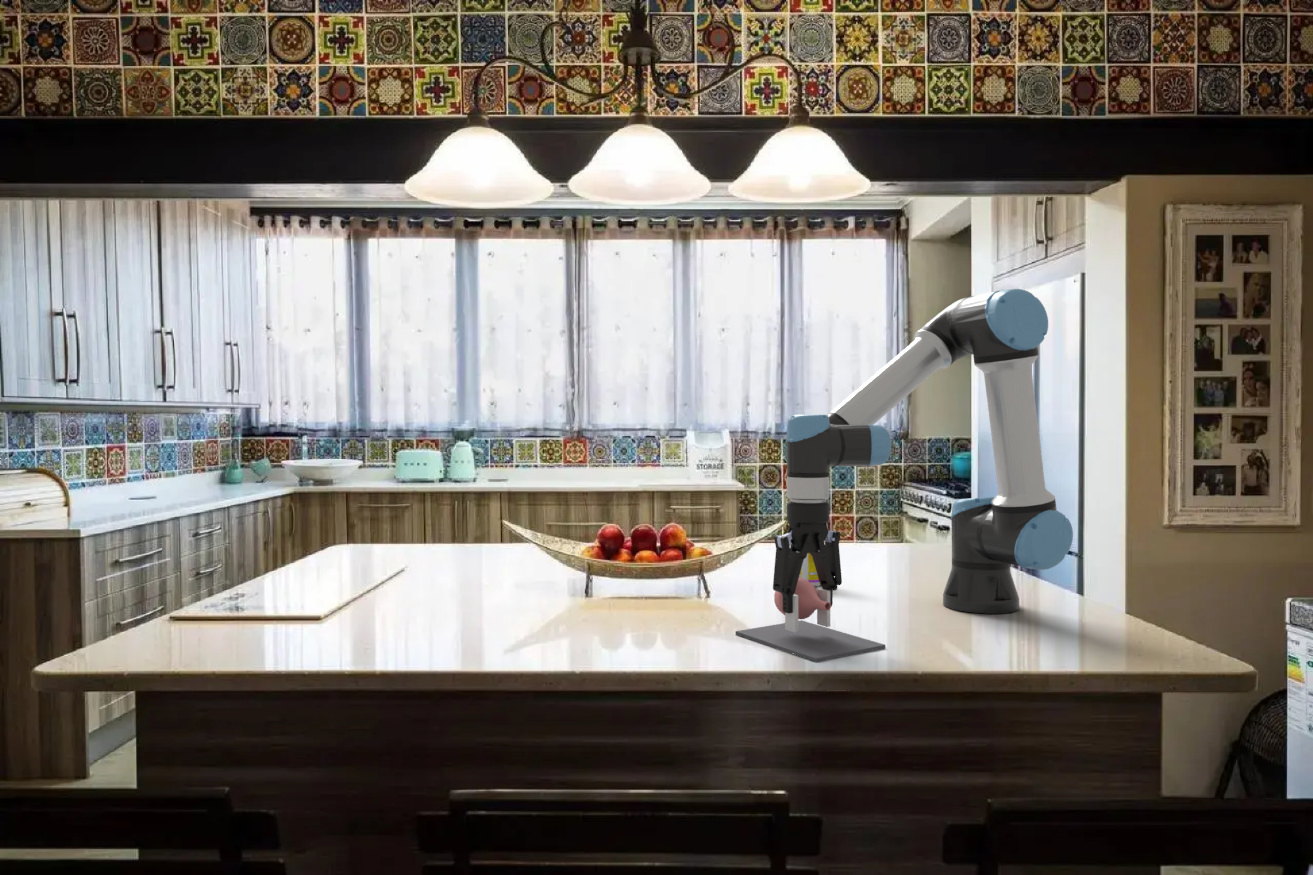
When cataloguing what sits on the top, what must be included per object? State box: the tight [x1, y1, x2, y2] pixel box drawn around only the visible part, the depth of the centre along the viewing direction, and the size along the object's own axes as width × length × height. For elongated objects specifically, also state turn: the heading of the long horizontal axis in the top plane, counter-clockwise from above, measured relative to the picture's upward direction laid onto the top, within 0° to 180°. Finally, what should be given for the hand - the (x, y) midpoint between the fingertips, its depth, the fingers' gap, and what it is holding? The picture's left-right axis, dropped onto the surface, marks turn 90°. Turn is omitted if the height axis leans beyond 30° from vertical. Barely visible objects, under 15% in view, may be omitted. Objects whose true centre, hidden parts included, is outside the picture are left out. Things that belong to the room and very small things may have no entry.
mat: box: [735, 619, 886, 663], centre depth 161 cm, size 16×22×1 cm
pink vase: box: [773, 577, 832, 620], centre depth 161 cm, size 8×8×12 cm
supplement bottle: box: [797, 551, 821, 587], centre depth 213 cm, size 7×7×13 cm
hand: (807, 627), depth 161 cm, fingers closed on pink vase, 7 cm apart
